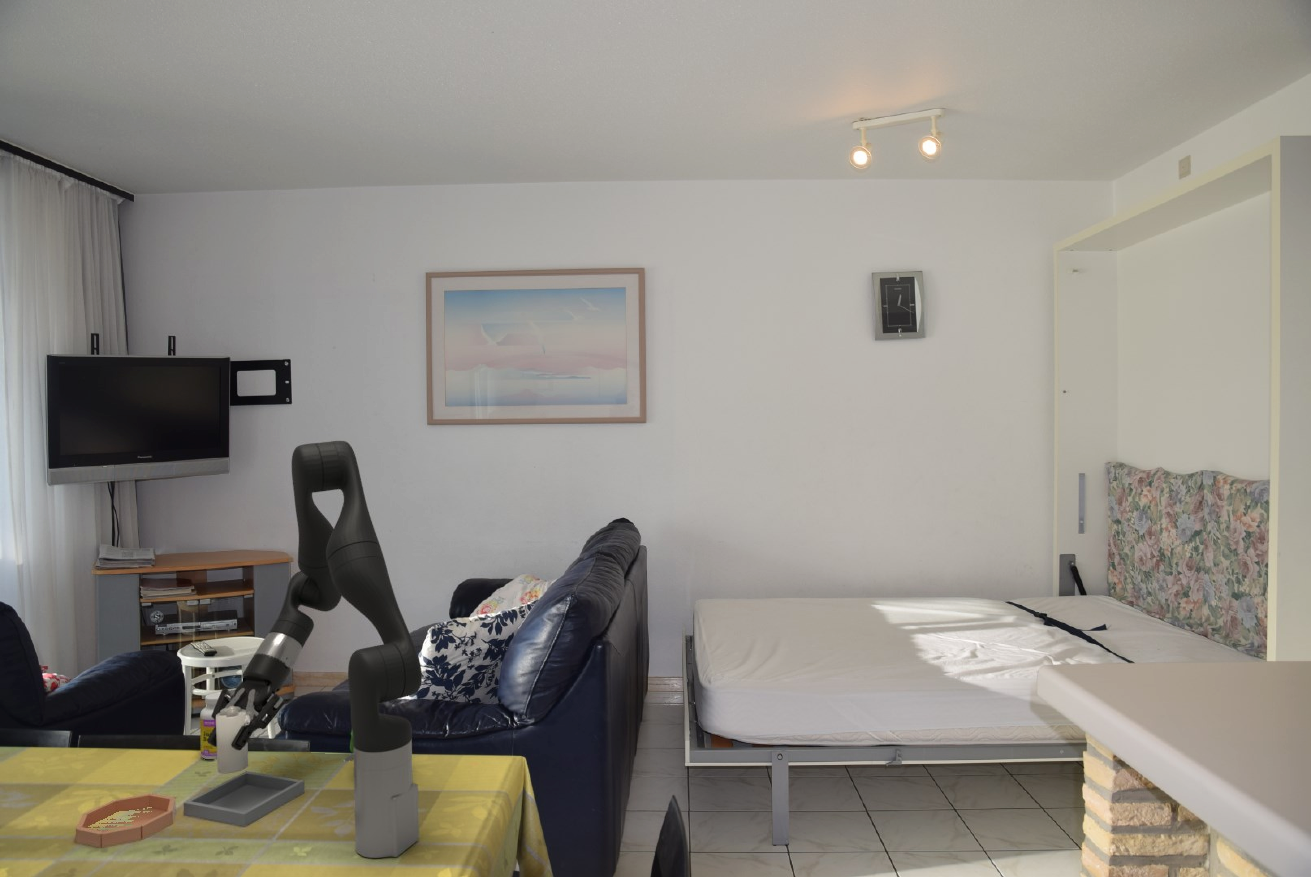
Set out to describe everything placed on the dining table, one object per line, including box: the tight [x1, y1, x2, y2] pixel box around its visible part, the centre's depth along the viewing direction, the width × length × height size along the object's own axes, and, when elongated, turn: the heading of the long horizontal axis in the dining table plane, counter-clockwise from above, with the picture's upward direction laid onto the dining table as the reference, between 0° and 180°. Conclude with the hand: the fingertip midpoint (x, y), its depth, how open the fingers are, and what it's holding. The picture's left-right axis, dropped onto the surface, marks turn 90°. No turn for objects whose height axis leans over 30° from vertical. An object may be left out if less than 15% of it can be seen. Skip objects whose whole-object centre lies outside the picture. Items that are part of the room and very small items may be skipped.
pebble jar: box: [216, 706, 249, 775], centre depth 152 cm, size 5×5×11 cm
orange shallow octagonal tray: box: [75, 792, 177, 849], centre depth 144 cm, size 14×14×3 cm
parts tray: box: [183, 770, 305, 828], centre depth 152 cm, size 14×14×3 cm
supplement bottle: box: [199, 691, 221, 760], centre depth 177 cm, size 7×7×13 cm
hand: (224, 746), depth 150 cm, fingers closed on pebble jar, 5 cm apart
